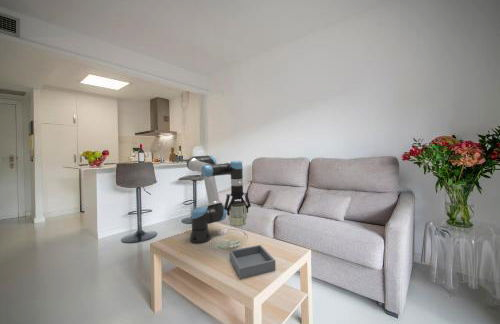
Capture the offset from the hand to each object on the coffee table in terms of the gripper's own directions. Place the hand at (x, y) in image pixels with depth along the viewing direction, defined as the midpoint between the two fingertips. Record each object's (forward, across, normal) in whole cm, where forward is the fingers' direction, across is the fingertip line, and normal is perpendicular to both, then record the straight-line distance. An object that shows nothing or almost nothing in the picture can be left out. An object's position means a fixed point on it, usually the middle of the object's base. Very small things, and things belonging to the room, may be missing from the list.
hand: (237, 218), depth 137 cm
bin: (+22, +2, -18) cm, 28 cm away
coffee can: (+4, 0, 0) cm, 4 cm away
